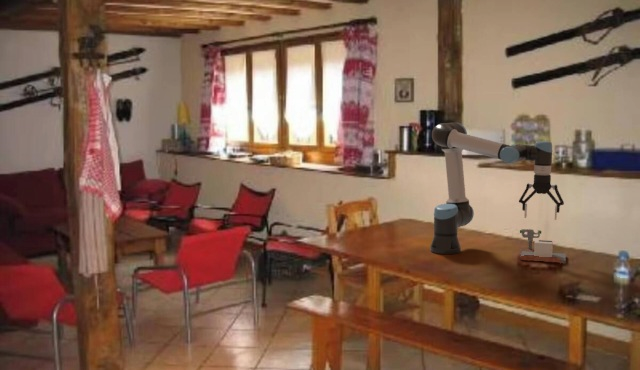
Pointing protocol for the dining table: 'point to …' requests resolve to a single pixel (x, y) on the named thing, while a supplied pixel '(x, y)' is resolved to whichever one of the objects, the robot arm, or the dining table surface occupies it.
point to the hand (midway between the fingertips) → (540, 218)
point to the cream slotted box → (543, 248)
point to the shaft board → (560, 256)
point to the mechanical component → (530, 235)
